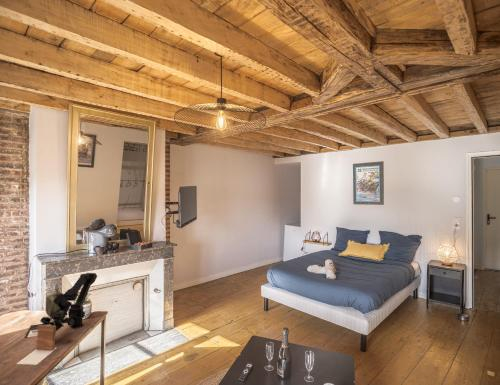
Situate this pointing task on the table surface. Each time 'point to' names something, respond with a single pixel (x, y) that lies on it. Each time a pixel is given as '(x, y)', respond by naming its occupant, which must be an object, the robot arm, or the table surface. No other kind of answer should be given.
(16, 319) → the table surface
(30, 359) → the white mat
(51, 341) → the walnut tile
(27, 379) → the table surface
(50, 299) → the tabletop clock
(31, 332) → the chocolate bar
